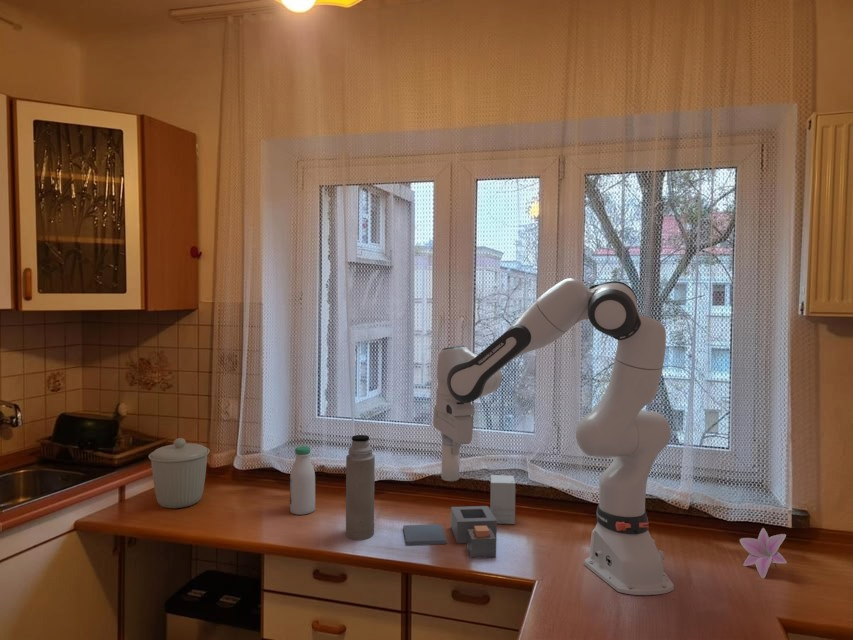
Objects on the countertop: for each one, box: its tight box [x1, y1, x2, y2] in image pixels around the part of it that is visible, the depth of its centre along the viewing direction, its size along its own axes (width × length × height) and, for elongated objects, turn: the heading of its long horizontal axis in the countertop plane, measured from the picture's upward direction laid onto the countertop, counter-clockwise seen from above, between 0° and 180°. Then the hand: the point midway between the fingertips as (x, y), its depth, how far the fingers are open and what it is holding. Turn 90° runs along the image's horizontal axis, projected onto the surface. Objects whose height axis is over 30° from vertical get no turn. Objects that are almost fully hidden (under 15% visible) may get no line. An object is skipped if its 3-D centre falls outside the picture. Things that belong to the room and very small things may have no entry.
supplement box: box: [489, 474, 516, 525], centre depth 172 cm, size 7×7×13 cm
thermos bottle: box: [345, 434, 376, 541], centre depth 160 cm, size 8×8×28 cm
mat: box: [402, 523, 447, 546], centre depth 159 cm, size 11×11×1 cm
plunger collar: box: [466, 529, 497, 559], centre depth 150 cm, size 6×6×5 cm
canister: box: [148, 437, 211, 509], centre depth 182 cm, size 18×18×21 cm
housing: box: [450, 505, 498, 544], centre depth 161 cm, size 11×11×6 cm
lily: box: [739, 527, 788, 579], centre depth 142 cm, size 12×12×10 cm
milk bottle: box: [289, 445, 316, 516], centre depth 177 cm, size 8×8×20 cm
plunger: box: [474, 526, 489, 537], centre depth 149 cm, size 3×3×6 cm
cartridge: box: [441, 437, 461, 482], centre depth 159 cm, size 5×5×11 cm
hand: (450, 451), depth 159 cm, fingers closed on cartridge, 5 cm apart
